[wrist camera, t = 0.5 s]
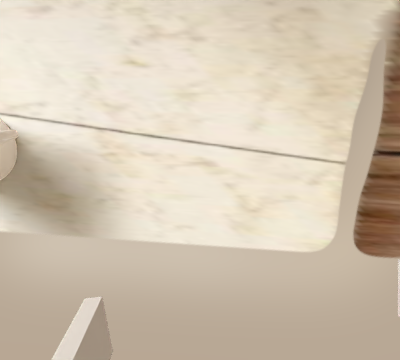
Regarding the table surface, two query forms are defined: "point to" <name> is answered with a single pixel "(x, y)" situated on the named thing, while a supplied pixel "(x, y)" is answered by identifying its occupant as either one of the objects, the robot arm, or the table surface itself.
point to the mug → (7, 149)
